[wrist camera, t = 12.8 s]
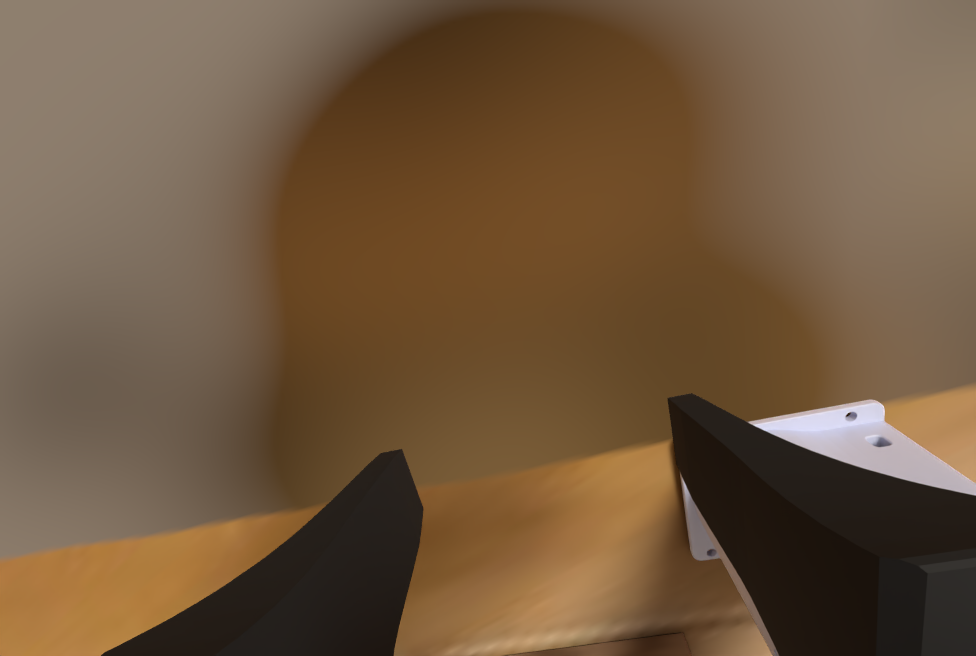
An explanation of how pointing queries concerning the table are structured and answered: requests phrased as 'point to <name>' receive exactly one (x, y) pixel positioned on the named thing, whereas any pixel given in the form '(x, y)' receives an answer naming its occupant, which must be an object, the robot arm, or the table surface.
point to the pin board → (625, 648)
